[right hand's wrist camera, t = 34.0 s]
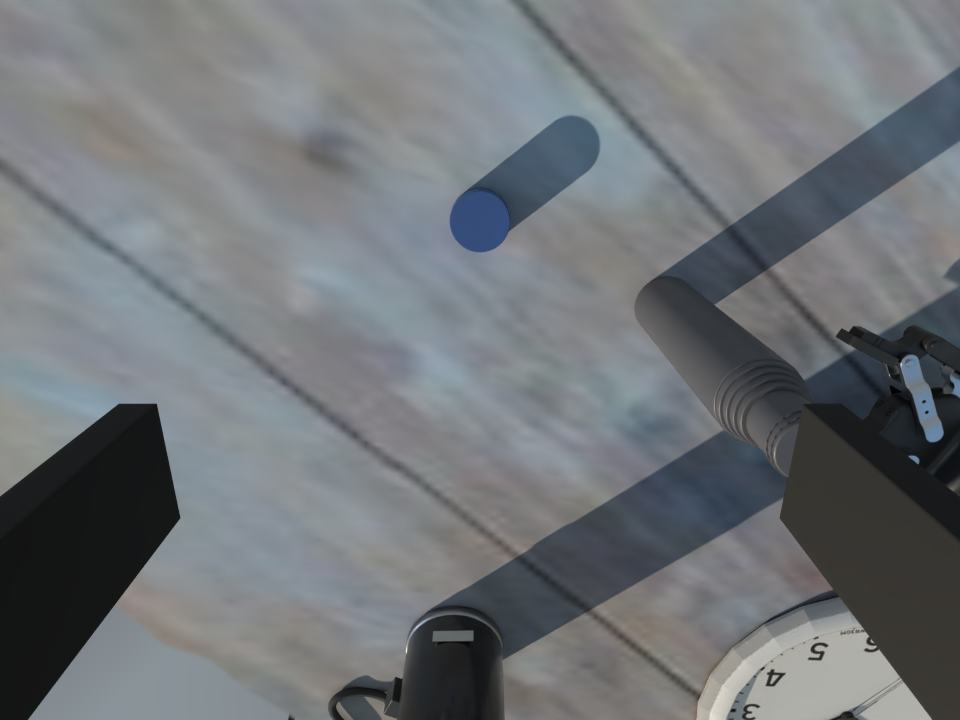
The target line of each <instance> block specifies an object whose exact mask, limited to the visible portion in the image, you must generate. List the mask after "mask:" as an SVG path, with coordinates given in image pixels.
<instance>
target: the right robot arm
mask: <svg viewBox="0 0 960 720" xmlns="http://www.w3.org/2000/svg"><path fill="white" fill-rule="evenodd" d="M179 519H180V514H179V509H178V504H177V500H176V495H175V490H174V485H173V480H172V475H171V470H170V466H169V461H168V456H167V451H166V446H165V441H164V437H163V432H162V427H161V422H160V417H159V412H158V408H157V404H118V405H117V406H116V407H114V408H113V409H112V410H110V411H109V412H108V413H107V414H105V415H104V416H103V417H101V418H100V419H99V420H98V421H96V422H95V423H94V424H92V425H91V426H90V427H89V428H87V429H86V430H85V431H84V432H82V433H81V434H80V435H78V436H77V437H76V438H75V439H73V440H72V441H71V442H69V443H68V444H67V445H66V446H64V447H63V448H62V449H60V450H59V451H58V452H57V453H55V454H54V455H53V456H52V457H50V458H49V459H48V460H46V461H45V462H44V463H43V464H41V465H40V466H39V467H37V468H36V469H35V470H34V471H32V472H31V473H30V474H28V475H27V476H26V477H25V478H23V479H22V480H21V481H20V482H18V483H17V484H16V485H14V486H13V487H12V488H11V489H9V490H8V491H7V492H5V493H4V494H3V495H2V496H0V720H28V719H29V718H30V716H31V715H32V714H33V712H34V711H35V710H36V708H37V707H38V706H39V704H40V703H41V702H42V700H43V699H44V698H45V696H46V695H47V694H48V692H49V691H50V690H51V688H52V687H53V686H54V684H55V683H56V682H57V681H58V679H59V678H60V677H61V675H62V674H63V673H64V671H65V670H66V669H67V667H68V666H69V665H70V663H71V662H72V661H73V659H74V658H75V657H76V655H77V654H78V653H79V651H80V650H81V649H82V647H83V646H84V645H85V643H86V642H87V641H88V640H89V638H90V637H91V636H92V634H93V633H94V631H95V630H96V629H97V628H98V626H99V625H100V624H101V622H102V621H103V620H104V618H105V617H106V616H107V614H108V613H109V612H110V610H111V609H112V608H113V606H114V605H115V604H116V603H117V601H118V600H119V599H120V597H121V596H122V595H123V593H124V592H125V591H126V589H127V588H128V587H129V585H130V584H131V583H132V581H133V580H134V579H135V577H136V576H137V575H138V573H139V572H140V571H141V569H142V568H143V567H144V565H145V564H146V563H147V562H148V560H149V559H150V558H151V556H152V555H153V554H154V552H155V551H156V550H157V548H158V547H159V546H160V544H161V543H162V542H163V540H164V539H165V538H166V536H167V535H168V534H169V532H170V531H171V530H172V528H173V527H174V526H175V525H176V523H177V522H178V521H179ZM780 519H781V521H782V522H783V523H784V525H785V526H786V527H787V528H788V530H789V531H790V532H791V534H792V535H793V536H794V538H795V539H796V540H797V542H798V543H799V544H800V546H801V547H802V548H803V550H804V551H805V552H806V554H807V555H808V556H809V558H810V559H811V560H812V562H813V563H814V564H815V565H816V567H817V568H818V569H819V571H820V572H821V573H822V575H823V576H824V577H825V579H826V580H827V581H828V583H829V584H830V585H831V587H832V588H833V589H834V591H835V592H836V593H837V595H838V596H839V597H840V599H841V600H842V601H843V603H844V604H845V605H846V606H847V608H848V609H849V610H850V612H851V613H852V614H853V616H854V617H855V618H856V620H857V621H858V622H859V624H860V625H861V626H862V628H863V629H864V630H865V632H866V633H867V634H868V636H869V637H870V638H871V640H872V641H873V642H874V643H875V645H876V646H877V647H878V649H879V650H880V651H881V653H882V654H883V655H884V657H885V658H886V659H887V661H888V662H889V663H890V665H891V666H892V667H893V669H894V670H895V671H896V673H897V674H898V675H899V677H900V678H901V679H902V681H903V682H904V683H905V684H906V686H907V687H908V688H909V690H910V691H911V692H912V694H913V695H914V696H915V698H916V699H917V700H918V702H919V703H920V704H921V706H922V707H923V708H924V710H925V711H926V712H927V714H928V715H929V716H930V718H931V719H932V720H960V496H958V495H957V494H956V493H955V492H953V491H952V490H951V489H949V488H948V487H947V486H946V485H944V484H943V483H942V482H940V481H939V480H938V479H937V478H935V477H934V476H933V475H932V474H930V473H929V472H928V471H926V470H925V469H924V468H923V467H921V466H920V465H919V464H917V463H916V462H915V461H914V460H912V459H911V458H910V457H908V456H907V455H906V454H905V453H903V452H902V451H901V450H900V449H898V448H897V447H896V446H894V445H893V444H892V443H891V442H889V441H888V440H887V439H885V438H884V437H883V436H882V435H880V434H879V433H878V432H876V431H875V430H874V429H873V428H871V427H870V426H869V425H867V424H866V423H865V422H864V421H862V420H861V419H860V418H859V417H857V416H856V415H855V414H853V413H852V412H851V411H850V410H848V409H847V408H846V407H844V406H843V405H842V404H803V408H802V412H801V417H800V422H799V427H798V432H797V437H796V441H795V446H794V451H793V456H792V461H791V466H790V470H789V475H788V480H787V485H786V490H785V495H784V500H783V504H782V509H781V514H780Z"/></svg>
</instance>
